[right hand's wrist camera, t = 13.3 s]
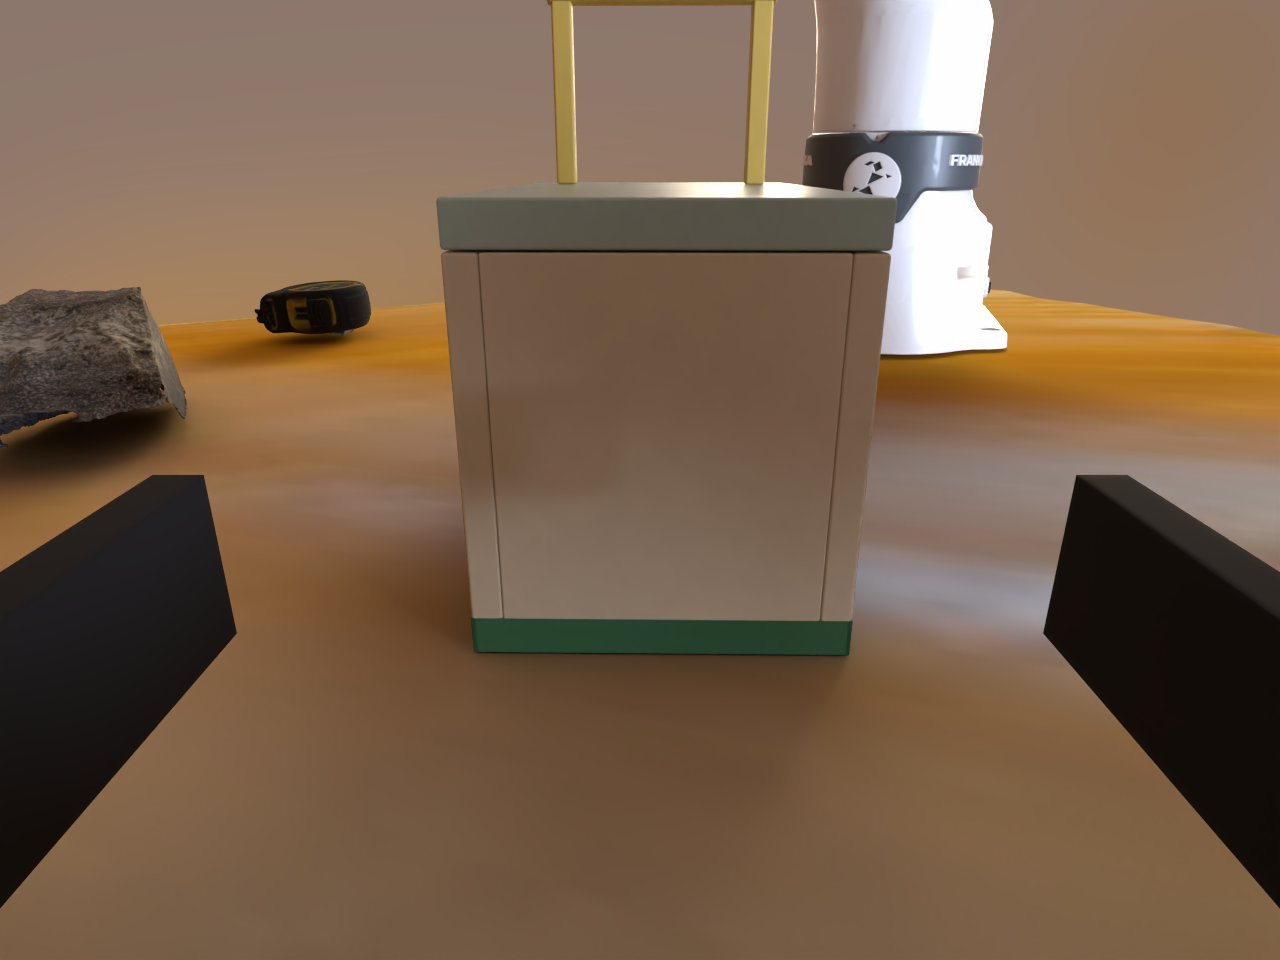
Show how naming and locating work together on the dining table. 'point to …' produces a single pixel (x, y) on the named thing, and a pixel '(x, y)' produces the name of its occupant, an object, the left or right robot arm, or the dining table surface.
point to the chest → (664, 445)
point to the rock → (82, 357)
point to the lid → (665, 186)
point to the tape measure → (316, 308)
